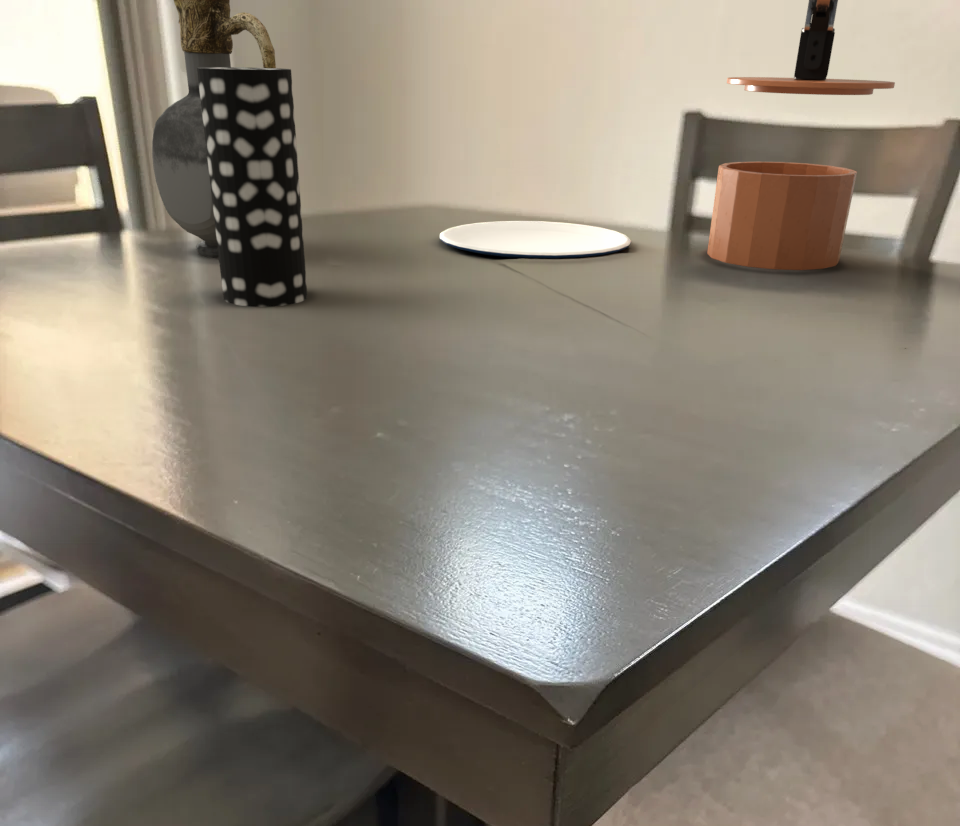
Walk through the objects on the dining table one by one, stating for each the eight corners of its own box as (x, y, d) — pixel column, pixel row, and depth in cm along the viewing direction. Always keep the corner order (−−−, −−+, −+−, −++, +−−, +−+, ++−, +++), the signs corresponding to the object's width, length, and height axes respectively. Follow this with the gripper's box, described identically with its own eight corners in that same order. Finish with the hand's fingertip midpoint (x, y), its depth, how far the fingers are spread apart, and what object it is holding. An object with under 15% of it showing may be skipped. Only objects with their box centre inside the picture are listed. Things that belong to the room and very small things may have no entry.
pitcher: (226, 239, 126) (195, -42, 110) (323, 260, 116) (305, -48, 100) (152, 250, 119) (109, -49, 103) (249, 273, 109) (217, -57, 93)
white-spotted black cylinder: (323, 294, 100) (308, 69, 89) (276, 311, 93) (254, 70, 83) (256, 286, 103) (235, 66, 92) (206, 301, 96) (177, 67, 86)
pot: (785, 248, 129) (800, 160, 124) (864, 270, 117) (885, 174, 111) (684, 253, 124) (695, 162, 119) (755, 277, 112) (771, 177, 106)
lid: (820, 89, 110) (831, 30, 107) (928, 96, 97) (944, 29, 94) (695, 88, 104) (702, 26, 101) (791, 95, 91) (803, 25, 88)
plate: (525, 272, 112) (525, 260, 111) (401, 240, 128) (401, 230, 128) (671, 250, 126) (672, 240, 125) (541, 224, 142) (542, 215, 141)
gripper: (898, -168, 83) (851, 81, 92) (885, -137, 96) (845, 77, 106) (806, -166, 84) (769, 79, 94) (807, -135, 98) (774, 75, 107)
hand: (810, 76), depth 100 cm, fingers closed on lid, 3 cm apart
